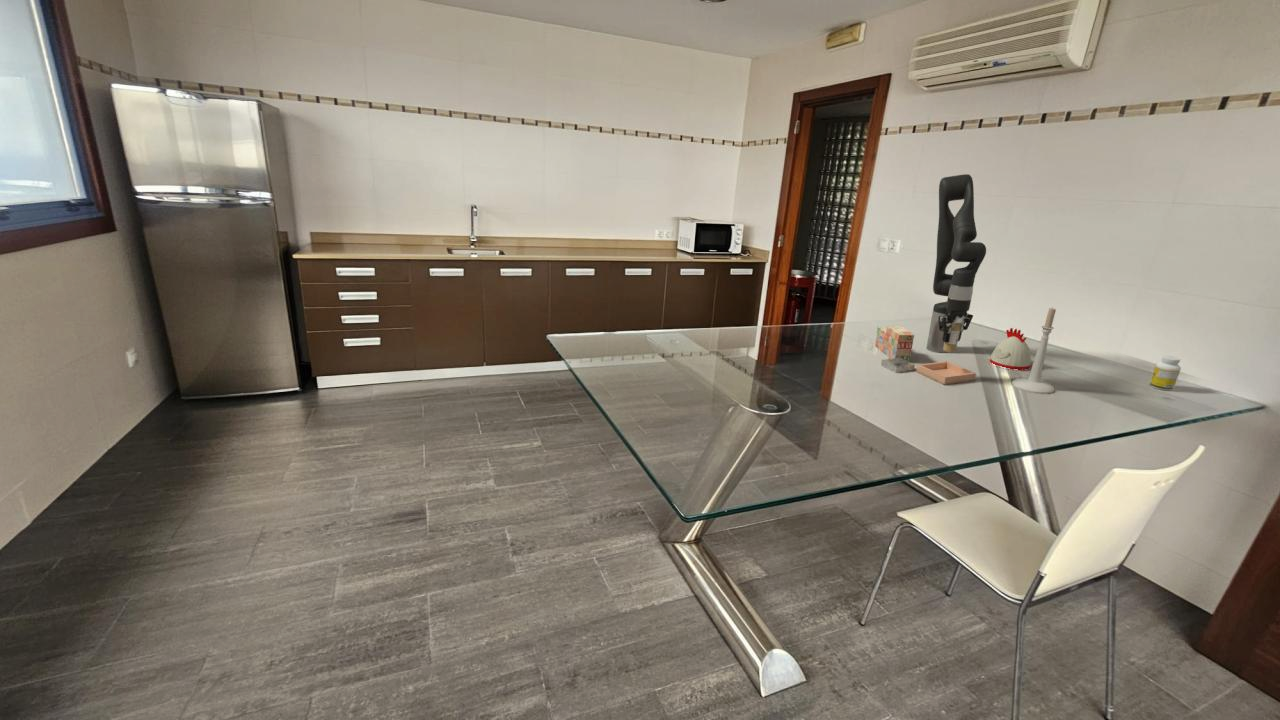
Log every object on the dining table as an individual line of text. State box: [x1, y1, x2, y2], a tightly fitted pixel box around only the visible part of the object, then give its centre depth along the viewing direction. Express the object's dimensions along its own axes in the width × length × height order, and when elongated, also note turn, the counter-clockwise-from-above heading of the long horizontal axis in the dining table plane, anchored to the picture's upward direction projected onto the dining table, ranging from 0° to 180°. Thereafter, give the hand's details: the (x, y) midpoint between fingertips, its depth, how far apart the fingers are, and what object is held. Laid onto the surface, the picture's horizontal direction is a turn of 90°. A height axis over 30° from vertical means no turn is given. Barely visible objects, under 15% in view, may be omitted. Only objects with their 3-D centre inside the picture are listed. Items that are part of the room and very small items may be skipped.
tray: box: [916, 360, 977, 386], centre depth 207 cm, size 14×14×3 cm
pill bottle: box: [1149, 355, 1182, 391], centre depth 192 cm, size 6×6×12 cm
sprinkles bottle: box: [943, 317, 962, 353], centre depth 201 cm, size 5×5×14 cm
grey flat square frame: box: [880, 358, 916, 374], centre depth 216 cm, size 9×9×2 cm
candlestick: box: [1011, 307, 1057, 395], centre depth 191 cm, size 13×13×30 cm
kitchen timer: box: [989, 327, 1032, 371], centre depth 216 cm, size 14×14×15 cm
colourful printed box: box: [875, 325, 915, 362], centre depth 230 cm, size 21×6×12 cm, turn 179°
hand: (951, 341), depth 202 cm, fingers closed on sprinkles bottle, 4 cm apart
